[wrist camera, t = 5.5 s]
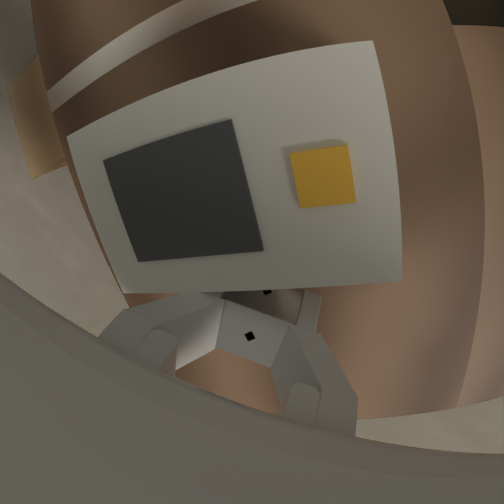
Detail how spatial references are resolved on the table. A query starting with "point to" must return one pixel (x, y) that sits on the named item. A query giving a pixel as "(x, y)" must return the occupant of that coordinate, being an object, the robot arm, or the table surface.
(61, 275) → the table surface
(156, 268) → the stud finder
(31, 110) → the board
